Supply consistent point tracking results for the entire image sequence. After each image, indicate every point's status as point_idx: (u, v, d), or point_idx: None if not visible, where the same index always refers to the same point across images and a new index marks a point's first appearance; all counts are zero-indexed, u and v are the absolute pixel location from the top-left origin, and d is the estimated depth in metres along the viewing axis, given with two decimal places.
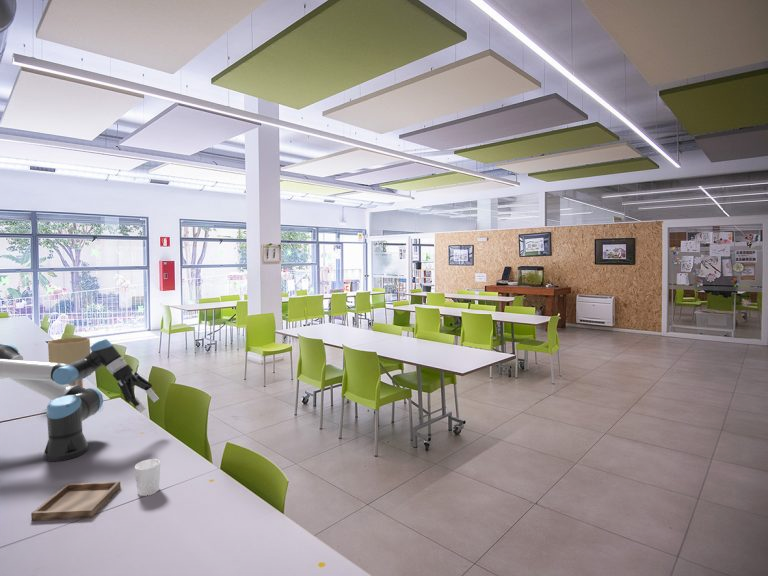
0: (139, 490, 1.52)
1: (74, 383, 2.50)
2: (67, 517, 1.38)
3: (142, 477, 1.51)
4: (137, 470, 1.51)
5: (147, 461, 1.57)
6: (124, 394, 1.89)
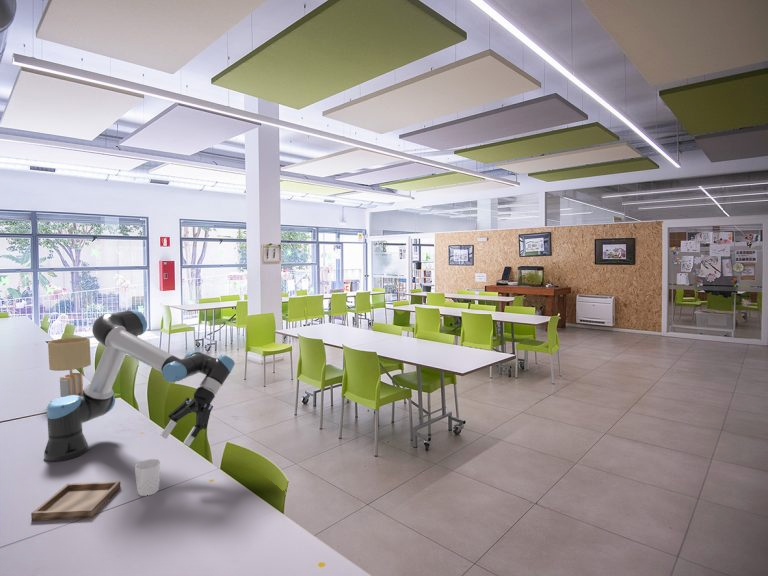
0: (139, 490, 1.52)
1: (74, 383, 2.50)
2: (67, 517, 1.38)
3: (142, 477, 1.51)
4: (137, 470, 1.51)
5: (147, 461, 1.57)
6: (205, 418, 1.64)
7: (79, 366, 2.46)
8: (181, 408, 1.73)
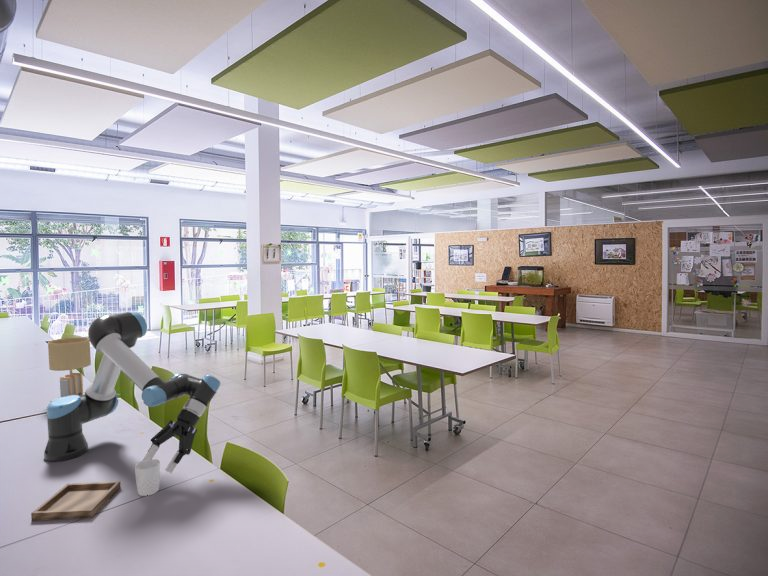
0: (139, 490, 1.52)
1: (74, 383, 2.50)
2: (67, 517, 1.38)
3: (142, 477, 1.51)
4: (137, 470, 1.51)
5: (147, 461, 1.57)
6: (188, 443, 1.57)
7: (79, 366, 2.46)
8: (164, 431, 1.66)
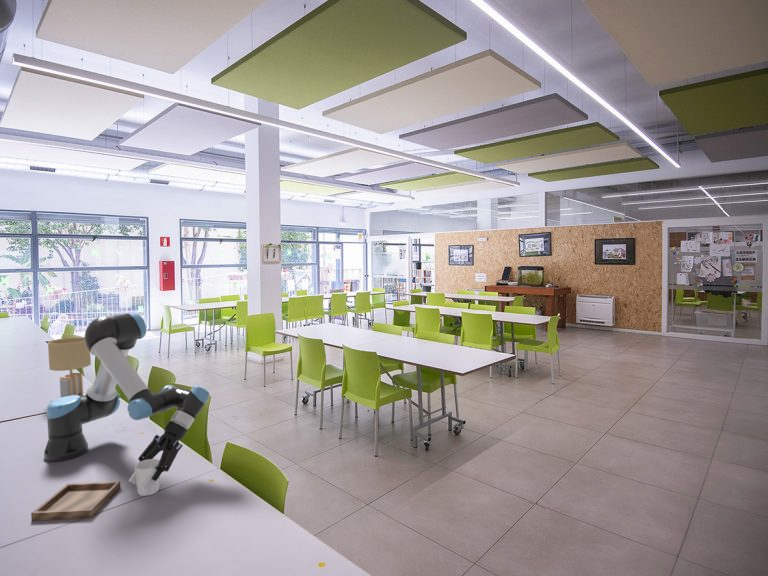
0: (139, 490, 1.52)
1: (74, 383, 2.50)
2: (67, 517, 1.38)
3: (142, 477, 1.51)
4: (137, 470, 1.51)
5: (147, 461, 1.57)
6: (169, 460, 1.54)
7: (79, 366, 2.46)
8: (151, 447, 1.61)
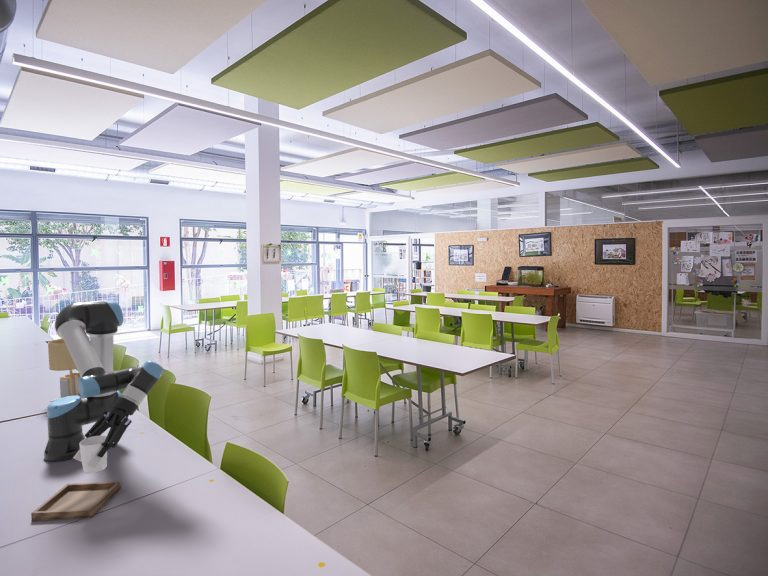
0: (84, 467, 1.44)
1: (74, 383, 2.50)
2: (67, 517, 1.38)
3: (87, 454, 1.43)
4: (81, 446, 1.43)
5: (94, 438, 1.50)
6: (116, 436, 1.47)
7: None
8: (99, 424, 1.54)
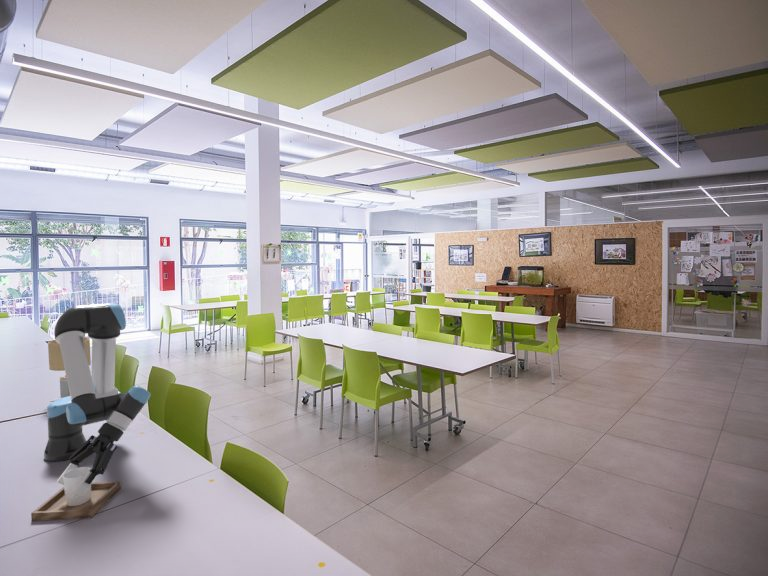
0: (67, 500, 1.44)
1: None
2: (67, 517, 1.38)
3: (70, 487, 1.43)
4: (64, 479, 1.43)
5: (78, 469, 1.50)
6: (103, 462, 1.46)
7: None
8: (84, 448, 1.54)
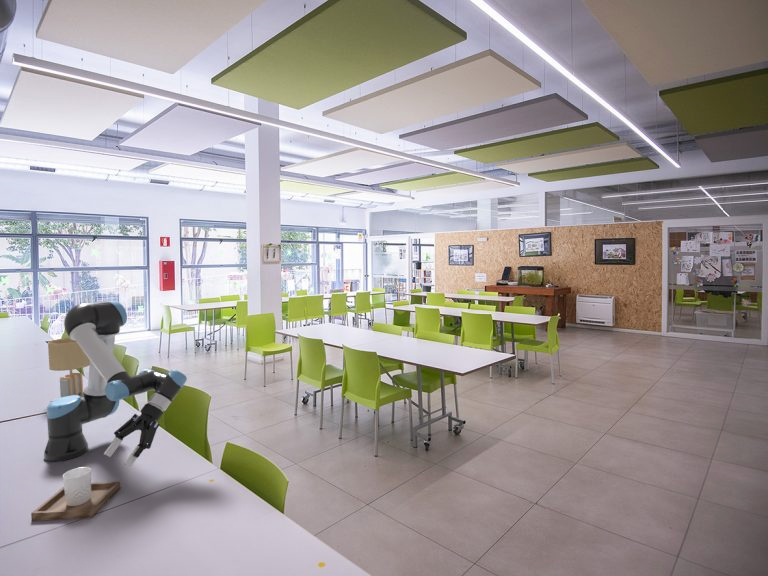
0: (67, 500, 1.44)
1: (74, 383, 2.50)
2: (67, 517, 1.38)
3: (70, 487, 1.43)
4: (64, 479, 1.43)
5: (78, 469, 1.50)
6: (149, 437, 1.58)
7: (79, 366, 2.46)
8: (128, 425, 1.67)
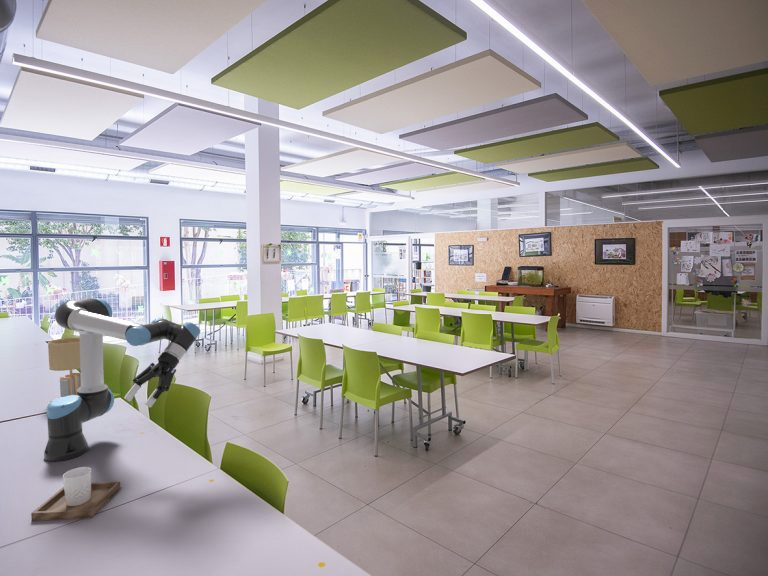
0: (67, 500, 1.44)
1: (74, 383, 2.50)
2: (67, 517, 1.38)
3: (70, 487, 1.43)
4: (64, 479, 1.43)
5: (78, 469, 1.50)
6: (167, 381, 1.67)
7: (79, 366, 2.46)
8: (146, 373, 1.76)
